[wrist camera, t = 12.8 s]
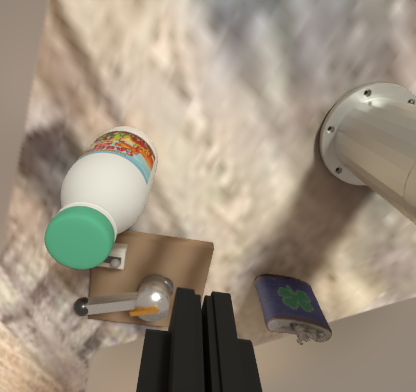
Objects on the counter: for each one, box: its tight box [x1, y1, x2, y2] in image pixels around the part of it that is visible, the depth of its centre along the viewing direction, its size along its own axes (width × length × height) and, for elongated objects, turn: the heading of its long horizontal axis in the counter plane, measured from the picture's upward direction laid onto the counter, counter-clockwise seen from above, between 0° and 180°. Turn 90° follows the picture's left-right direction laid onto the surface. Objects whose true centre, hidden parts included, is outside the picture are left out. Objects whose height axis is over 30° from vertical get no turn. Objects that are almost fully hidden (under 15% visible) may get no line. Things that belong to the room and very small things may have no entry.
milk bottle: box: [45, 126, 158, 270], centre depth 32 cm, size 8×8×20 cm
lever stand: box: [88, 230, 214, 327], centre depth 47 cm, size 16×15×5 cm
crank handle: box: [74, 274, 173, 322], centre depth 45 cm, size 13×4×5 cm, turn 96°
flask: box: [255, 274, 332, 345], centre depth 46 cm, size 9×3×11 cm, turn 73°
